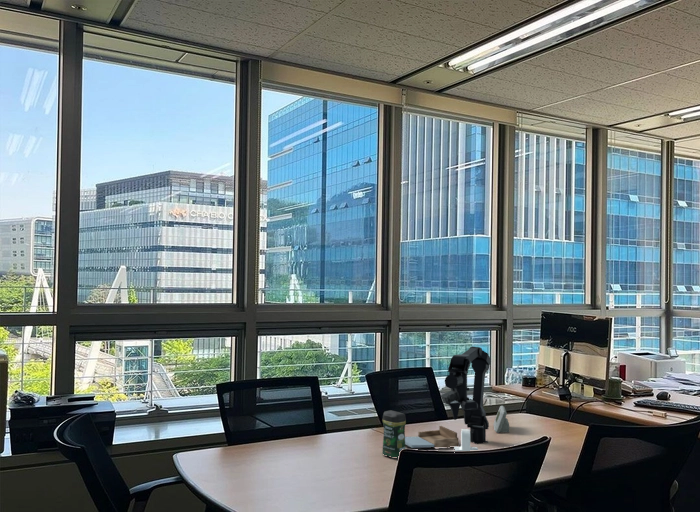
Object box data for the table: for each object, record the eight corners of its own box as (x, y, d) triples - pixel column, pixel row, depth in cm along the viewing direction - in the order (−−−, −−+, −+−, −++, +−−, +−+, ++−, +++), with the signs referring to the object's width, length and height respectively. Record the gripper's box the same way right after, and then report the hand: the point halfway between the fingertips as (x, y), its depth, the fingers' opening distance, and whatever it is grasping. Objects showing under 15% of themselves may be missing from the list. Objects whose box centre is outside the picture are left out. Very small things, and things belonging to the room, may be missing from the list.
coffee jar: (379, 455, 257) (379, 410, 257) (392, 452, 262) (393, 408, 262) (395, 460, 249) (395, 414, 250) (409, 457, 254) (409, 411, 255)
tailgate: (418, 436, 280) (396, 436, 276) (434, 444, 266) (411, 445, 262) (418, 439, 280) (396, 439, 276) (434, 447, 266) (411, 448, 262)
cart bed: (440, 438, 285) (440, 425, 285) (458, 447, 270) (458, 433, 270) (418, 440, 281) (418, 427, 281) (435, 449, 266) (435, 435, 266)
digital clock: (494, 425, 311) (494, 404, 312) (512, 427, 308) (512, 405, 308) (488, 432, 296) (488, 410, 297) (507, 434, 293) (507, 412, 293)
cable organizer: (453, 451, 264) (453, 427, 265) (477, 451, 263) (477, 428, 264) (454, 454, 259) (454, 430, 259) (478, 455, 258) (478, 431, 258)
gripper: (433, 382, 269) (433, 418, 269) (454, 389, 252) (454, 428, 251) (455, 381, 273) (456, 416, 272) (478, 388, 255) (478, 426, 255)
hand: (460, 421), depth 262 cm, fingers open, 9 cm apart
